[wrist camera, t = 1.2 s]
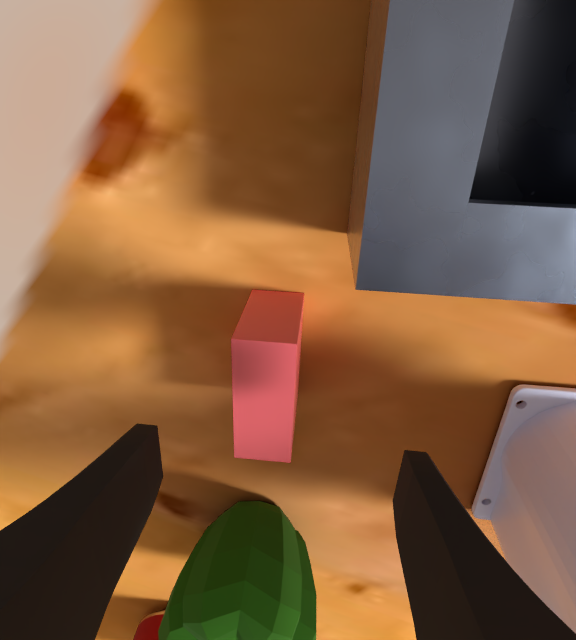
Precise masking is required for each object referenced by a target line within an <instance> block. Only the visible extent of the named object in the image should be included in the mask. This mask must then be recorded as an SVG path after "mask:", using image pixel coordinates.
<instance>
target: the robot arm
mask: <svg viewBox="0 0 576 640" xmlns="http://www.w3.org/2000/svg"><path fill="white" fill-rule="evenodd" d="M519 401H523V402H522V403H520V404H516V403H517V402H519ZM162 478H163V471H162V462H161V454H160V445H159V436H158V428H157V426H155V425H145V424H136V425H135V426H134V427H133V428H131V429H130V430H129V431H128V432H127V433H126V434H124V435H123V436H122V437H121V438H120V439H119V440H118V441H116V442H115V443H114V444H113V445H112V446H111V447H110V448H108V449H107V450H106V451H105V452H104V453H103V454H102V455H100V456H99V457H98V458H97V459H96V460H95V461H93V462H92V463H91V464H90V465H89V466H87V467H86V468H85V469H84V470H83V471H81V472H80V473H79V474H78V475H77V476H75V477H74V478H73V479H72V480H70V481H69V482H68V483H66V484H65V485H64V486H63V487H61V488H60V489H59V490H57V491H56V492H55V493H54V494H52V495H51V496H50V497H48V498H47V499H46V500H44V501H43V502H42V503H40V504H39V505H37V506H36V507H35V508H33V509H32V510H31V511H29V512H28V513H26V514H25V515H23V516H22V517H20V518H19V519H17V520H16V521H14V522H13V523H11V524H10V525H8V526H7V527H5V528H4V529H2V530H1V531H0V640H95V638H96V635H97V632H98V630H99V627H100V624H101V622H102V619H103V616H104V613H105V611H106V608H107V605H108V603H109V601H110V598H111V596H112V594H113V592H114V589H115V587H116V585H117V583H118V581H119V579H120V576H121V574H122V572H123V570H124V568H125V566H126V564H127V562H128V560H129V558H130V555H131V553H132V551H133V549H134V547H135V545H136V543H137V541H138V539H139V537H140V534H141V532H142V530H143V528H144V526H145V524H146V522H147V519H148V517H149V515H150V513H151V511H152V508H153V505H154V502H155V499H156V497H157V494H158V491H159V488H160V484H161V481H162ZM393 509H394V520H395V530H396V539H397V544H398V549H399V554H400V559H401V564H402V568H403V573H404V578H405V583H406V588H407V592H408V597H409V602H410V607H411V612H412V616H413V621H414V627H415V632H416V638H417V640H576V388H563V387H551V386H538V385H525V384H523V385H518V386H516V387H514V388H513V389H512V391H511V393H510V396H509V399H508V402H507V405H506V408H505V411H504V414H503V417H502V420H501V423H500V426H499V429H498V432H497V435H496V438H495V440H494V443H493V446H492V449H491V452H490V455H489V458H488V461H487V464H486V467H485V470H484V473H483V476H482V479H481V482H480V485H479V488H478V491H477V494H476V497H475V499H474V502H473V505H472V513H473V515H474V517H476V518H479V519H486V520H491V523H492V525H493V528H494V530H495V533H496V535H497V538H498V541H499V543H500V546H501V548H502V551H503V553H504V556H505V558H506V560H505V559H504V558H503V557H502V556H501V555H500V553H499V552H498V551H497V550H496V548H495V547H494V546H493V545H492V543H491V542H490V541H489V540H488V538H487V537H486V536H485V535H484V533H483V532H482V531H481V530H480V528H479V527H478V526H477V524H476V523H475V522H474V520H473V519H472V518H471V516H470V515H469V513H468V512H467V511H466V509H465V508H464V507H463V505H462V504H461V502H460V501H459V500H458V498H457V497H456V495H455V494H454V492H453V491H452V490H451V488H450V487H449V485H448V484H447V482H446V481H445V479H444V478H443V476H442V475H441V473H440V472H439V470H438V469H437V467H436V465H435V464H434V462H433V461H432V459H431V458H430V456H429V455H428V454H427V452H418V451H408V450H405V451H404V455H403V459H402V463H401V468H400V472H399V476H398V480H397V485H396V489H395V493H394V498H393ZM506 561H507V562H506Z"/></svg>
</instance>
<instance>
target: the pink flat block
mask: <svg viewBox="0 0 576 640" xmlns="http://www.w3.org/2000/svg"><path fill="white" fill-rule="evenodd" d="M303 303H304V293H297V292H282V291H267V290H253V289H252V292H251V294H250V296H249V299H248V301H247V303H246V306H245V308H244V310H243V313H242V315H241V317H240V320H239V322H238V324H237V327H236V329H235V331H234V334H233V336H232V338H231V353H232V390H233V427H234V458H245V459H256V460H266V461H277V462H287V463H291V455H292V446H293V437H294V427H295V418H296V409H297V400H298V388H299V371H300V354H301V337H302V320H303Z"/></svg>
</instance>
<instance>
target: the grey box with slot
mask: <svg viewBox="0 0 576 640" xmlns="http://www.w3.org/2000/svg"><path fill="white" fill-rule="evenodd" d="M347 236H348V243H349V250H350V256H351V263H352V269H353V276H354V283H355V289H356V290H369V291H384V292H399V293H414V294H429V295H444V296H459V297H473V298H488V299H503V300H518V301H533V302H548V303H563V304H576V0H371V5H370V15H369V25H368V34H367V44H366V54H365V64H364V74H363V83H362V93H361V103H360V113H359V122H358V132H357V142H356V152H355V162H354V171H353V181H352V191H351V201H350V210H349V220H348V230H347Z"/></svg>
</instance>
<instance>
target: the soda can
mask: <svg viewBox="0 0 576 640" xmlns="http://www.w3.org/2000/svg"><path fill="white" fill-rule="evenodd" d="M164 613H165V610H162V611H159V612H155V613H152V614H149V615H147V616H146V617H144V618H143V619H142V620H141V622H140V623H139V626H138V628H137V631H136V634H135V636H134V639H133V640H159V637H158V630H159V627H160V624H161V621H162V618H163V615H164Z"/></svg>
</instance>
